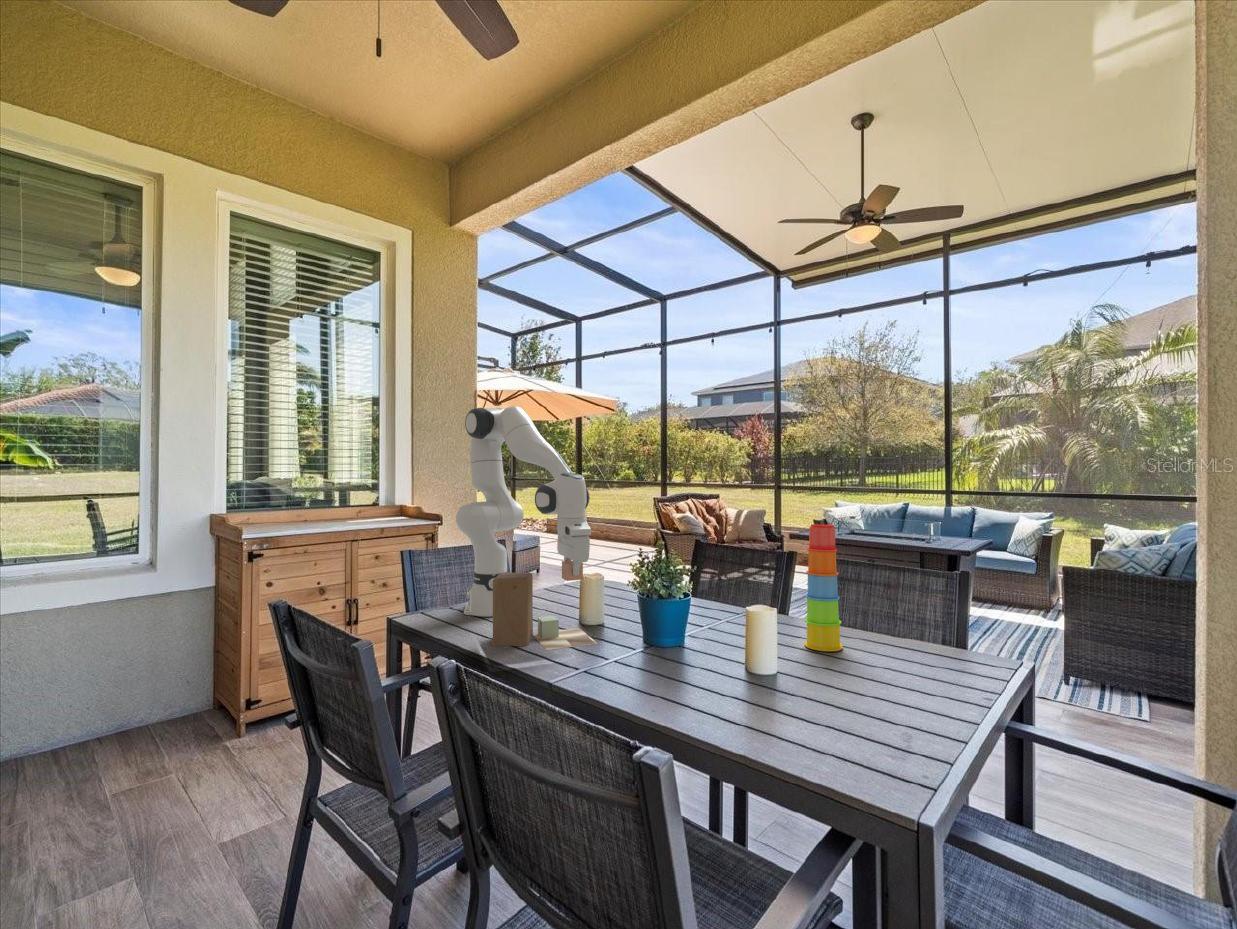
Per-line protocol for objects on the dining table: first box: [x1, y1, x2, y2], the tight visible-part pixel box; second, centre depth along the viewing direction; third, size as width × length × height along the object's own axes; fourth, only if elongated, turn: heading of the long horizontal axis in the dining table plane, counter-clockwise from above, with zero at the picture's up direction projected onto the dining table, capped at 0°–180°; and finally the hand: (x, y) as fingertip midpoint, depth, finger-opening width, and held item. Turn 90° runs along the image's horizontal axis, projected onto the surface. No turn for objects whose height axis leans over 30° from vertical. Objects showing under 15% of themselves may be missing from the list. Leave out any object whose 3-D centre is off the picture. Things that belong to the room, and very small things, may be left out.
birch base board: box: [533, 627, 599, 651], centre depth 170 cm, size 17×15×1 cm
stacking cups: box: [804, 523, 844, 653], centre depth 165 cm, size 10×10×35 cm
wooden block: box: [492, 572, 534, 647], centre depth 168 cm, size 10×10×20 cm
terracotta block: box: [561, 560, 584, 582], centre depth 174 cm, size 5×5×5 cm
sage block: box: [537, 615, 560, 639], centre depth 173 cm, size 5×5×5 cm
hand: (572, 573), depth 174 cm, fingers closed on terracotta block, 5 cm apart
